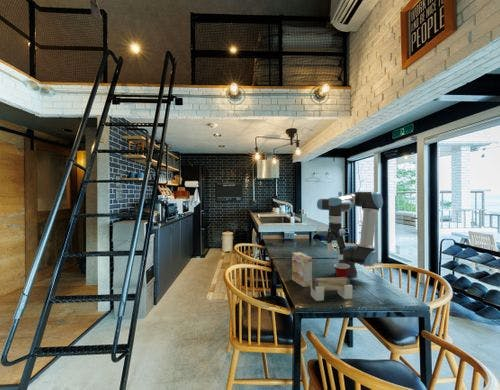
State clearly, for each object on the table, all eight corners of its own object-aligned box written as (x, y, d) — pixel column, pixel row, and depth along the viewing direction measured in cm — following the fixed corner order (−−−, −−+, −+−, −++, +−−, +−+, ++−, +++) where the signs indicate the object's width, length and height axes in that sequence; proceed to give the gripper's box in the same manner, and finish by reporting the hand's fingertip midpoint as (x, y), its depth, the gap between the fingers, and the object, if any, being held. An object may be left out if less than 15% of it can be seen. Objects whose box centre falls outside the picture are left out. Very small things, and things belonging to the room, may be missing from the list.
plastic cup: (330, 279, 179) (330, 263, 179) (344, 278, 181) (344, 262, 181) (338, 285, 169) (338, 267, 168) (352, 284, 170) (353, 267, 170)
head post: (310, 294, 152) (310, 282, 152) (318, 294, 153) (318, 281, 153) (315, 300, 145) (316, 287, 144) (323, 300, 145) (324, 286, 145)
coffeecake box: (291, 279, 178) (292, 252, 178) (300, 278, 181) (300, 251, 180) (303, 287, 164) (303, 258, 164) (312, 286, 167) (312, 257, 166)
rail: (312, 288, 150) (312, 278, 150) (345, 286, 154) (346, 276, 153) (315, 291, 146) (315, 280, 146) (349, 289, 150) (349, 279, 149)
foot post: (337, 293, 155) (338, 280, 155) (345, 293, 156) (345, 280, 156) (344, 299, 147) (344, 285, 147) (352, 298, 148) (352, 285, 148)
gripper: (320, 219, 164) (320, 251, 165) (339, 226, 140) (339, 262, 141) (331, 219, 165) (330, 250, 166) (352, 225, 141) (351, 262, 142)
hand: (334, 256), depth 153 cm, fingers open, 13 cm apart
